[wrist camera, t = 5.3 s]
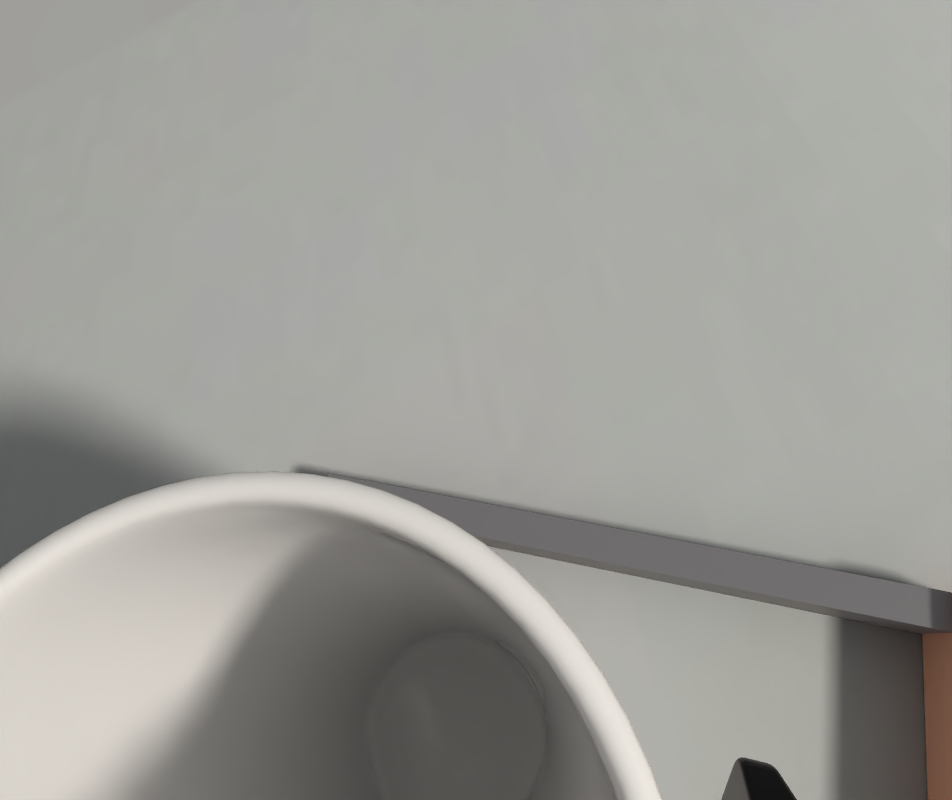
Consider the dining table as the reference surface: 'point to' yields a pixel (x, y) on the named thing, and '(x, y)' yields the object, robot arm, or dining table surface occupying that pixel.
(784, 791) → the robot arm
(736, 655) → the dining table surface
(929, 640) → the terracotta band
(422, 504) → the charcoal guide track
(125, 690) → the white cup
